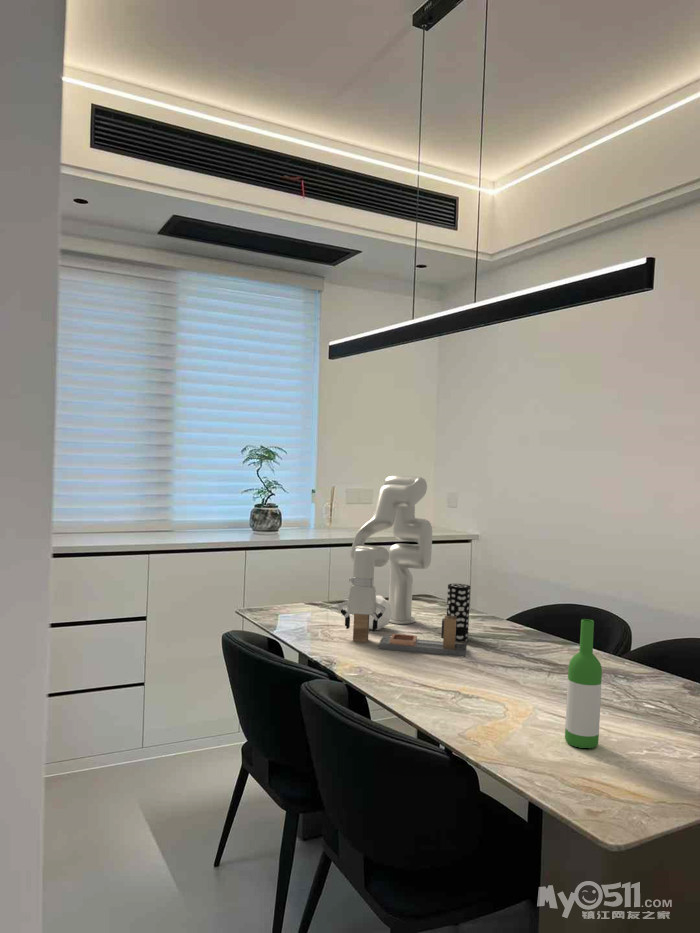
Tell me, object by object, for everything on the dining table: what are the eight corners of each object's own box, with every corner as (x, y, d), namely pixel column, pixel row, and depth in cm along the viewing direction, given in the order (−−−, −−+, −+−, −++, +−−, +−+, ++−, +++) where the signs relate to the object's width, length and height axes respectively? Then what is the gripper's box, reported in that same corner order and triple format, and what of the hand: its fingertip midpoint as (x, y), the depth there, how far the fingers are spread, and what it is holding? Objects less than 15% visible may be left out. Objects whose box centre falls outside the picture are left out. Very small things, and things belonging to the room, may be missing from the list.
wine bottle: (591, 738, 176) (597, 617, 176) (603, 751, 168) (610, 624, 168) (560, 737, 176) (566, 615, 175) (570, 750, 168) (577, 623, 168)
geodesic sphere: (389, 621, 266) (392, 588, 274) (352, 618, 268) (357, 585, 276) (391, 637, 277) (394, 605, 285) (356, 634, 280) (360, 602, 288)
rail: (382, 641, 259) (384, 608, 258) (466, 649, 253) (468, 615, 253) (378, 648, 249) (380, 614, 249) (465, 657, 243) (467, 622, 243)
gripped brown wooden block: (366, 642, 257) (367, 614, 257) (352, 641, 258) (354, 613, 257) (368, 639, 261) (369, 612, 261) (355, 637, 262) (356, 610, 262)
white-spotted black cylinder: (461, 643, 262) (463, 588, 262) (441, 638, 267) (443, 585, 267) (471, 638, 268) (474, 585, 268) (452, 634, 274) (454, 582, 273)
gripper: (337, 582, 257) (335, 629, 257) (385, 585, 253) (383, 634, 254) (341, 578, 264) (339, 624, 264) (388, 582, 261) (385, 629, 261)
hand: (360, 629), depth 259 cm, fingers open, 9 cm apart
